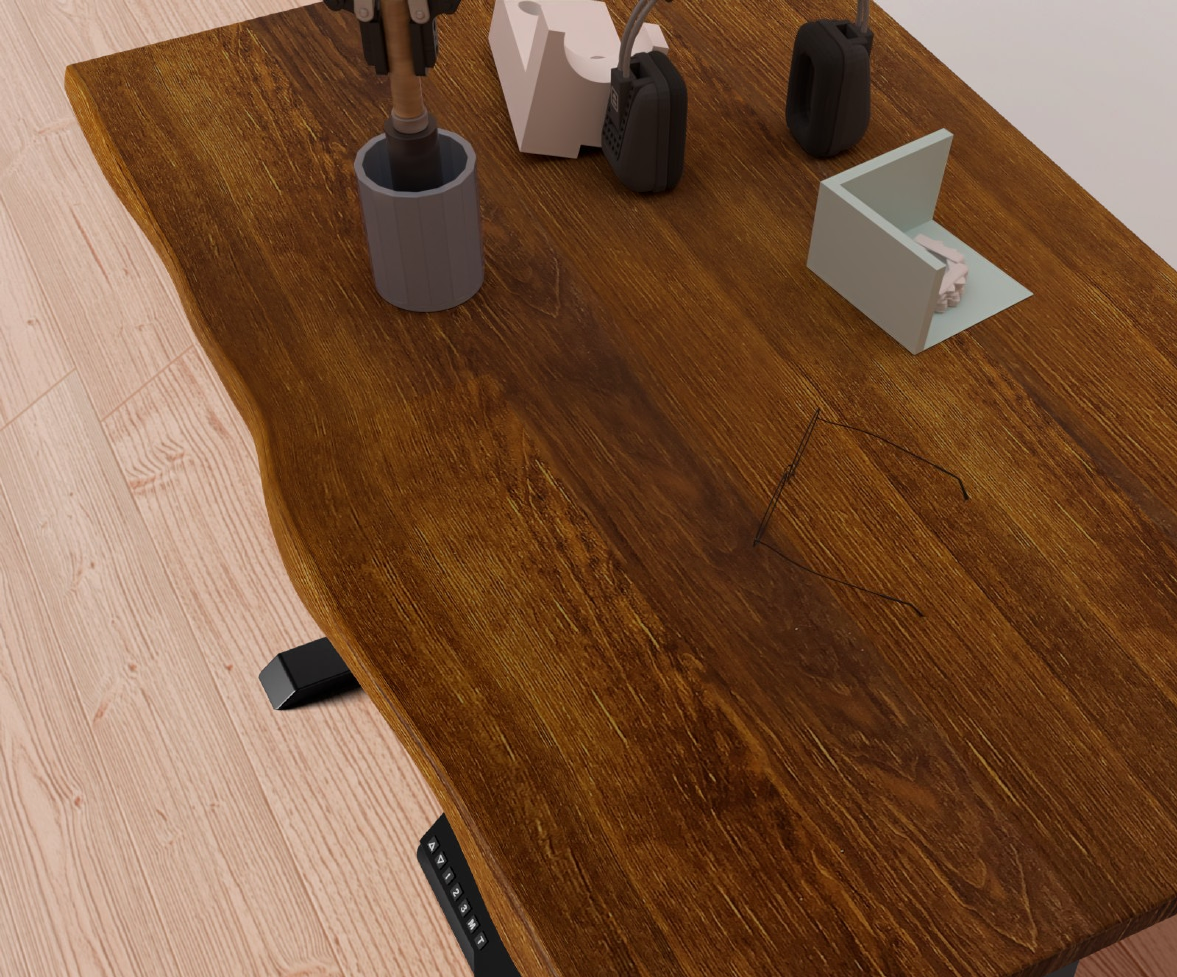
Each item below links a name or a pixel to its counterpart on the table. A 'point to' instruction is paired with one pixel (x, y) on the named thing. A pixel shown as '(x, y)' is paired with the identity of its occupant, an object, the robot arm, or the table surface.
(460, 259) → the grey cup
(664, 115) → the headphones
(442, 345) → the table surface
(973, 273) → the l-shaped corner panel
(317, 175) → the table surface
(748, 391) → the table surface
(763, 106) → the table surface
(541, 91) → the white notched block
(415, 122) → the cylinder with wooden handle
